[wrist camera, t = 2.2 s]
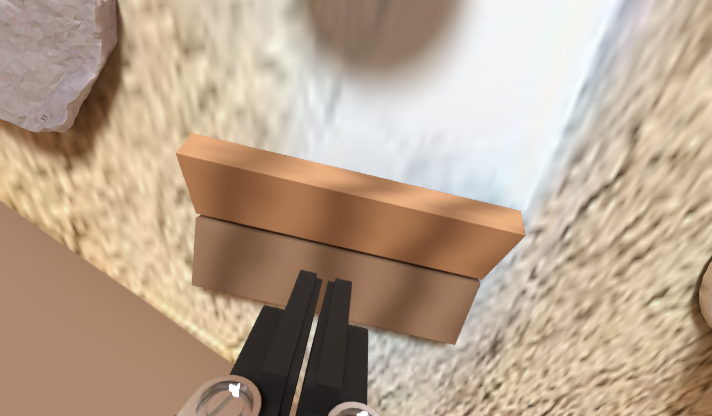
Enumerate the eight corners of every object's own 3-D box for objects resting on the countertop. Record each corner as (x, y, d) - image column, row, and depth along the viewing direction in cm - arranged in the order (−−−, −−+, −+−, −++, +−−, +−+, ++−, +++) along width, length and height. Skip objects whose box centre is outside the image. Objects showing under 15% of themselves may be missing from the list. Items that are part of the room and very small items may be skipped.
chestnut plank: (520, 211, 22) (525, 235, 21) (480, 257, 27) (482, 279, 26) (191, 133, 22) (175, 153, 20) (208, 193, 26) (196, 213, 25)
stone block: (148, -7, 24) (-23, -101, 21) (110, -16, 20) (-110, -135, 17) (111, 139, 28) (-34, 79, 25) (74, 158, 24) (-106, 88, 21)
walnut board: (473, 270, 28) (480, 283, 26) (450, 328, 30) (454, 344, 28) (208, 208, 27) (195, 218, 25) (203, 272, 29) (191, 284, 27)
